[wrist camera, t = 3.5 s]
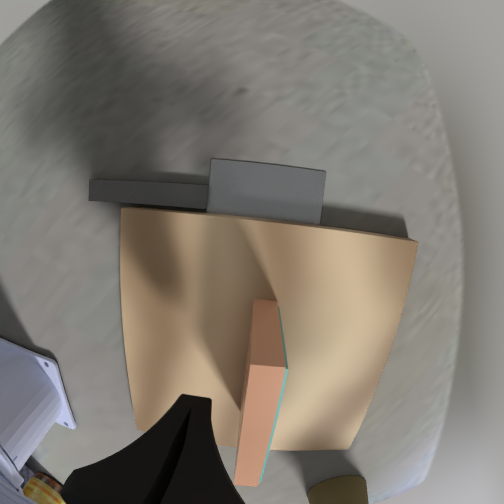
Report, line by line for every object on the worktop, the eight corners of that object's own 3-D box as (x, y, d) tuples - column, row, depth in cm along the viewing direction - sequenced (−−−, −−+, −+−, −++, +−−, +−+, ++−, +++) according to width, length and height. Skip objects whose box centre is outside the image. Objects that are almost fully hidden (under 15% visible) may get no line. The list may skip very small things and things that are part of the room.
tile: (240, 410, 17) (233, 484, 11) (253, 298, 15) (250, 364, 9) (260, 412, 17) (260, 486, 11) (279, 301, 15) (289, 367, 9)
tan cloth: (141, 419, 19) (137, 429, 18) (129, 206, 16) (121, 208, 14) (345, 438, 19) (348, 448, 18) (408, 238, 16) (418, 242, 14)
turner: (94, 222, 16) (87, 224, 15) (98, 156, 15) (91, 155, 14) (315, 245, 16) (318, 248, 15) (324, 172, 15) (328, 171, 14)
